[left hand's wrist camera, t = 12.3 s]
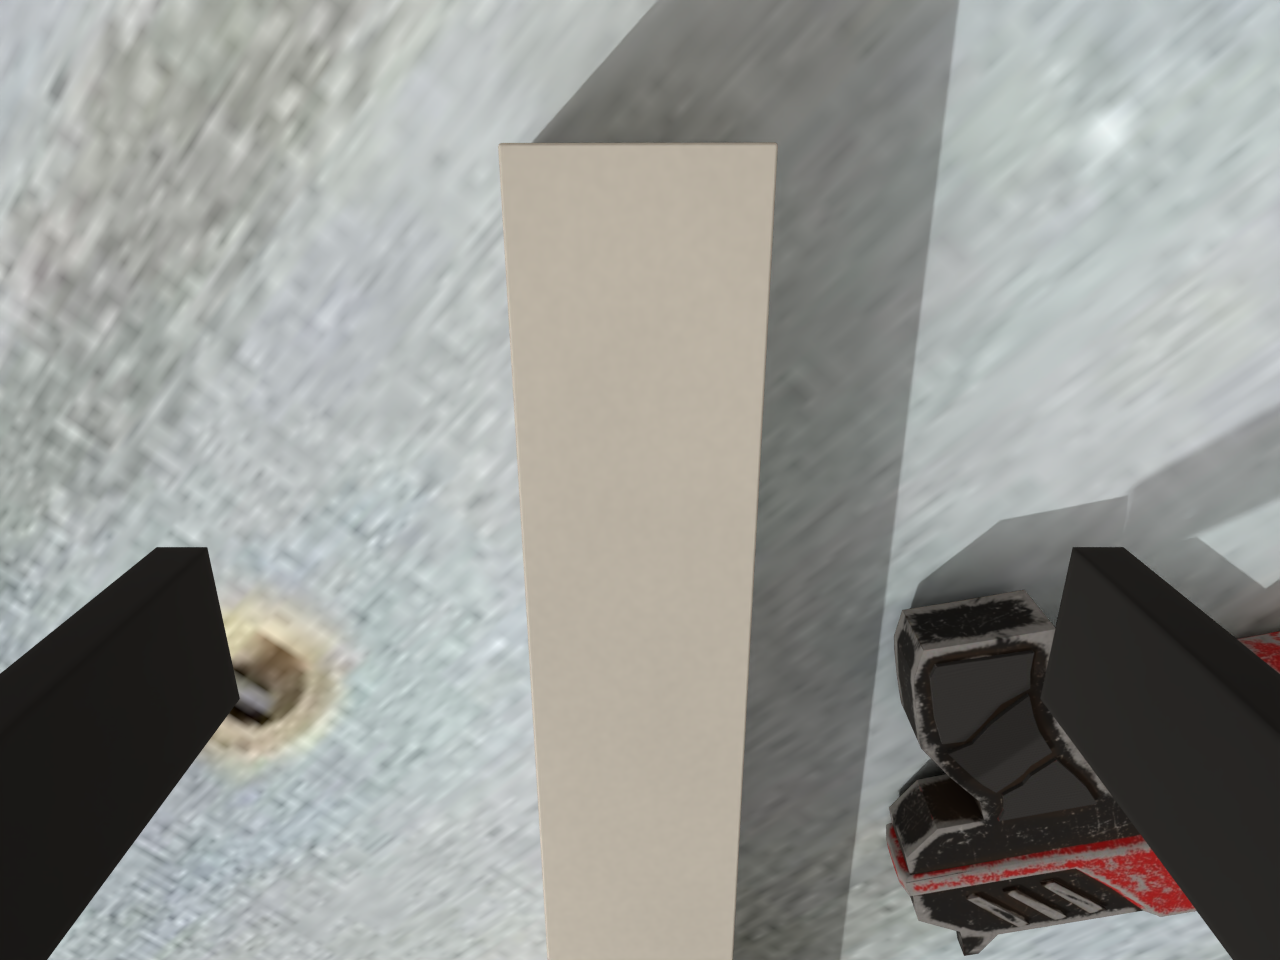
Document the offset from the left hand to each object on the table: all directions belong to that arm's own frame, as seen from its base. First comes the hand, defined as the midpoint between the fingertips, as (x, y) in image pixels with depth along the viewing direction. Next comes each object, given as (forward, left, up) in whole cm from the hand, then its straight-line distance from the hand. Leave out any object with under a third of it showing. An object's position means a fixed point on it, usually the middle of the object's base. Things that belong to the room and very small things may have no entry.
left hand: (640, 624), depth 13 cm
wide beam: (+20, 0, -23) cm, 31 cm away
